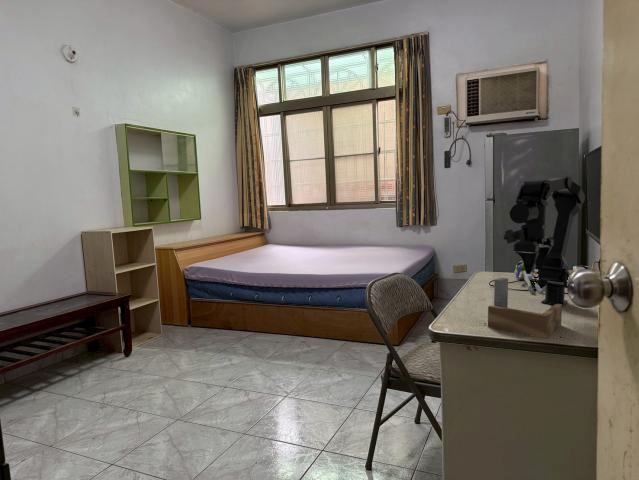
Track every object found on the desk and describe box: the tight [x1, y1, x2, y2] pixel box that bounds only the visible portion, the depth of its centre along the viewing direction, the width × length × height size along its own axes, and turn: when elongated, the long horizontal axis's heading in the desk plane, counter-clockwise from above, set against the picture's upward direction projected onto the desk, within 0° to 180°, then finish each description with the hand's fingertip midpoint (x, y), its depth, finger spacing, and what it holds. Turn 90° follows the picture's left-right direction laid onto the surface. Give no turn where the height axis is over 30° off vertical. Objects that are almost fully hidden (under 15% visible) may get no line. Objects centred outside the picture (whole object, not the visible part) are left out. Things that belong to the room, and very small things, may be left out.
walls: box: [487, 304, 563, 339], centre depth 123 cm, size 14×15×6 cm
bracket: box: [493, 277, 509, 308], centre depth 123 cm, size 4×8×12 cm, turn 37°
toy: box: [513, 260, 546, 294], centre depth 173 cm, size 10×8×30 cm
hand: (533, 271), depth 134 cm, fingers open, 9 cm apart
